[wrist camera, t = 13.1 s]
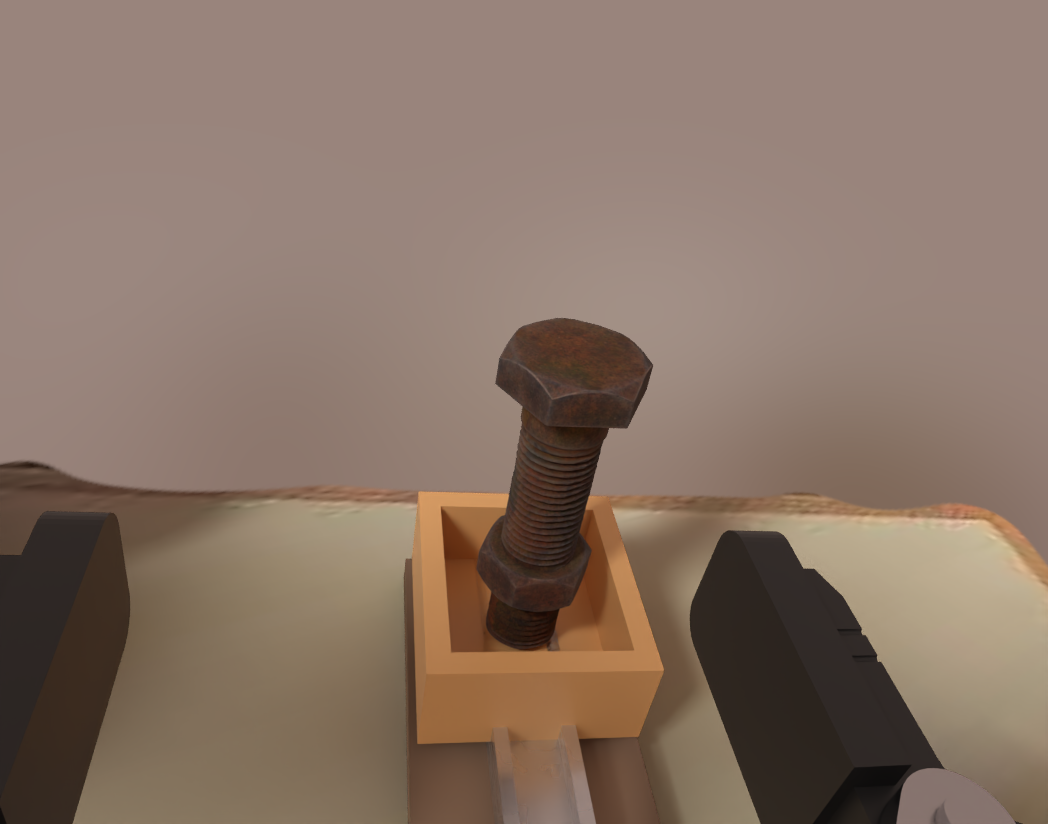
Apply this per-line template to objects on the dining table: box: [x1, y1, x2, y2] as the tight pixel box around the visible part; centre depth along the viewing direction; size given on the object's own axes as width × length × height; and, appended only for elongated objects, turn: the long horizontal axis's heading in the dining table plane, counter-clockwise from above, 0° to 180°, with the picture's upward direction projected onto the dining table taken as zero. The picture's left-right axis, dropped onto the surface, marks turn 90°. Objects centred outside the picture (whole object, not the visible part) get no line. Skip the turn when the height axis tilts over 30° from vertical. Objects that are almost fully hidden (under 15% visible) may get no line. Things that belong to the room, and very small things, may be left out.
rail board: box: [404, 559, 660, 824], centre depth 36 cm, size 10×20×2 cm, turn 8°
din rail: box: [474, 561, 596, 824], centre depth 35 cm, size 4×20×2 cm, turn 8°
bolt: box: [476, 318, 653, 649], centre depth 34 cm, size 6×5×15 cm
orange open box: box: [412, 492, 664, 744], centre depth 37 cm, size 10×10×4 cm
